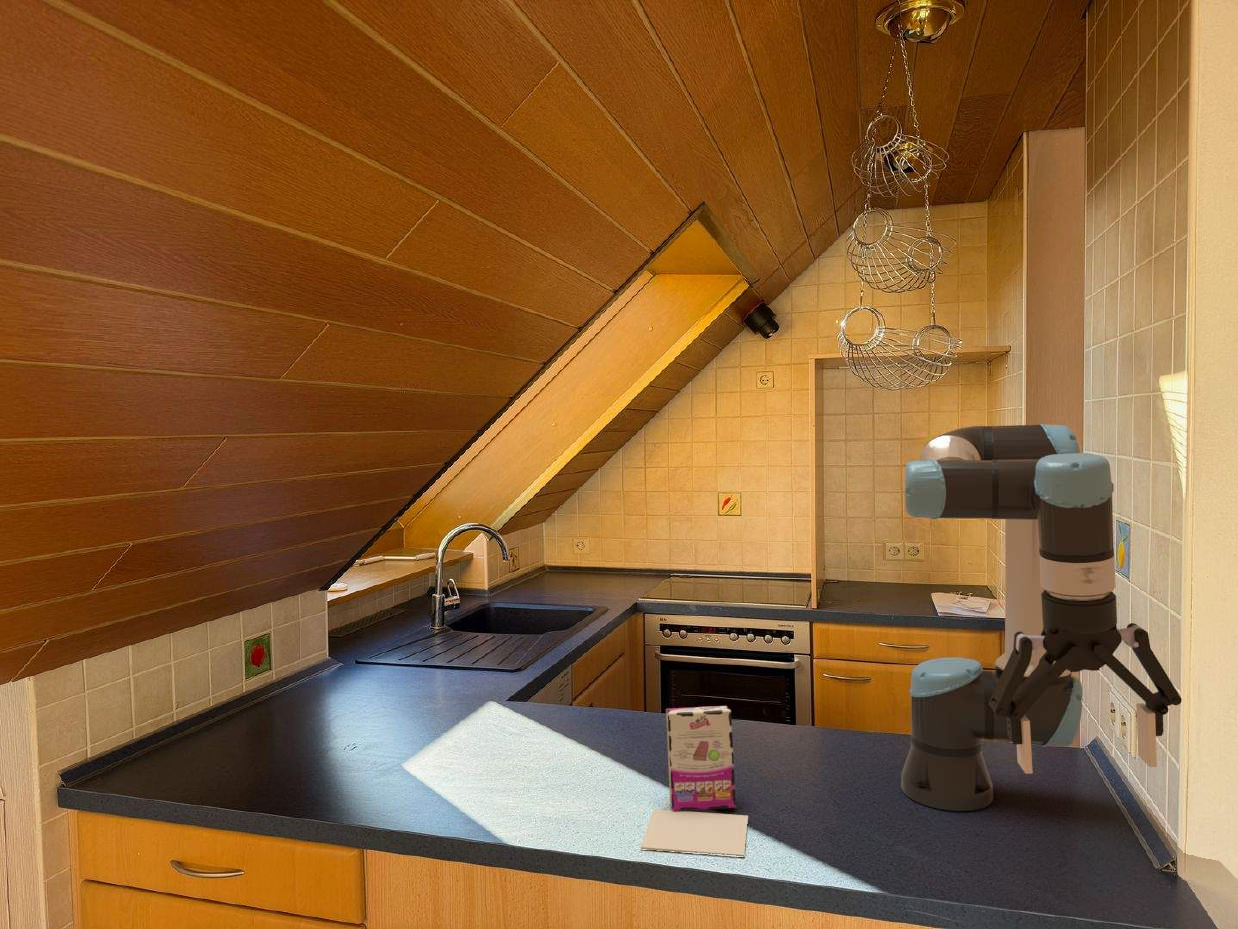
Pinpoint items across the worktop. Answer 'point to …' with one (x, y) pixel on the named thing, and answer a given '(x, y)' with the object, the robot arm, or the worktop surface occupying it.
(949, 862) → the worktop surface
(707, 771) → the candy bar box
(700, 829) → the mat
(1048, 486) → the robot arm
